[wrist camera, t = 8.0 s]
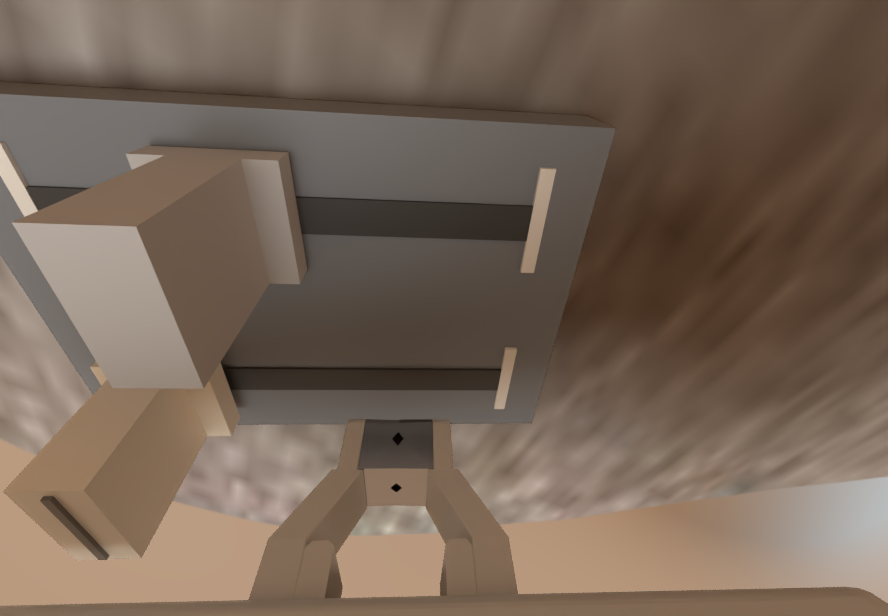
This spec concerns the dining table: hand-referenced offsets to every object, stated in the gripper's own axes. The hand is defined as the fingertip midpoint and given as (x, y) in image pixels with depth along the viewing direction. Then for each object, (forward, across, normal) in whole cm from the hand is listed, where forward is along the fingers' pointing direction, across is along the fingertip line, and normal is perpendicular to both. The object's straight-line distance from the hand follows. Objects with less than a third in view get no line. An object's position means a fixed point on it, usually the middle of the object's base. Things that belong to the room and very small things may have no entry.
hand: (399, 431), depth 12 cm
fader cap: (+2, +7, 0) cm, 8 cm away
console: (+4, +3, -3) cm, 6 cm away
